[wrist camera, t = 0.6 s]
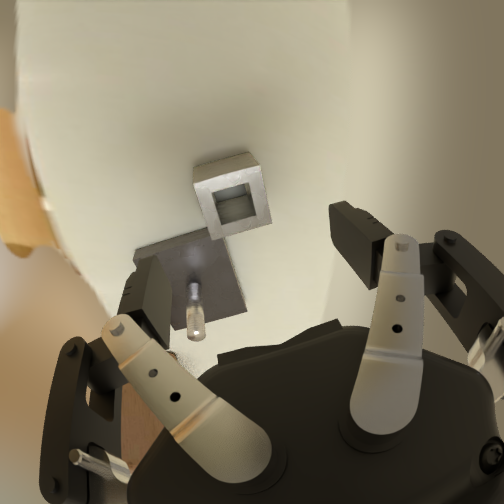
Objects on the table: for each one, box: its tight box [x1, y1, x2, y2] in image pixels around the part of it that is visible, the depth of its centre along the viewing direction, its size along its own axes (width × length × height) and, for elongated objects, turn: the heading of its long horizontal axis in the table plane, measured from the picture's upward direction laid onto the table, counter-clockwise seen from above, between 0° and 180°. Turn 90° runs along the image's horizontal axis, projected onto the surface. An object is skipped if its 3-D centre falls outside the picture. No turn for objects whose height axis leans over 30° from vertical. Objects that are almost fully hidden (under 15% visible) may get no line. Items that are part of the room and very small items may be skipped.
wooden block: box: [121, 353, 177, 474], centre depth 33 cm, size 10×10×20 cm
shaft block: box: [133, 228, 247, 341], centre depth 29 cm, size 12×10×9 cm
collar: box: [193, 152, 272, 241], centre depth 25 cm, size 6×6×5 cm
